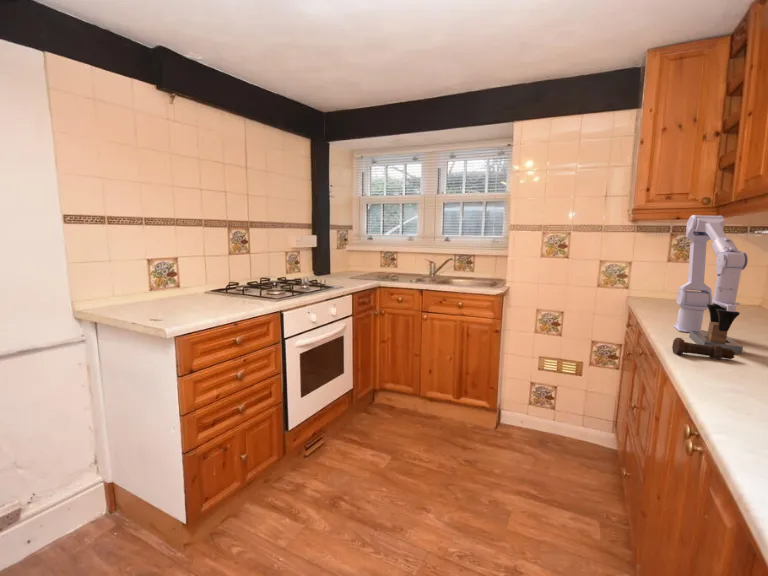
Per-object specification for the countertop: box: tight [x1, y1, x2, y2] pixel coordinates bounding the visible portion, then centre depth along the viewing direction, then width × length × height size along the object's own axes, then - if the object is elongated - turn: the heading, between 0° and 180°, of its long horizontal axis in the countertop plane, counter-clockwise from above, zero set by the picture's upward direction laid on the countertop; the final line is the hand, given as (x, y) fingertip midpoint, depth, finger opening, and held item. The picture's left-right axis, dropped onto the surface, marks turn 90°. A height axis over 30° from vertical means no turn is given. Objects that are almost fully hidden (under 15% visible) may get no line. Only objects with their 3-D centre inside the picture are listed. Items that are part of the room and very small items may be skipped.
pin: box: [707, 321, 729, 342], centre depth 134 cm, size 4×4×8 cm
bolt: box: [671, 337, 736, 360], centre depth 124 cm, size 6×5×15 cm
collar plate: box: [688, 330, 744, 355], centre depth 136 cm, size 16×10×2 cm, turn 156°
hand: (718, 328), depth 134 cm, fingers open, 7 cm apart
